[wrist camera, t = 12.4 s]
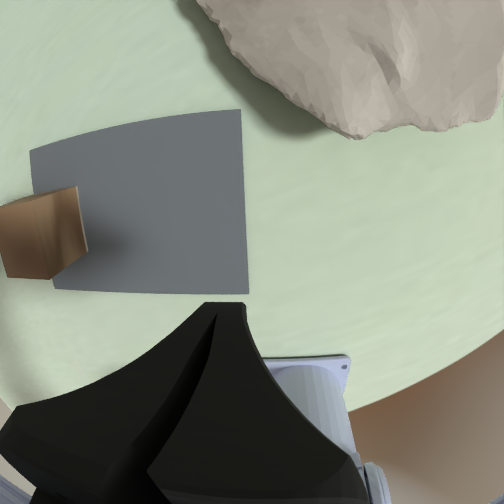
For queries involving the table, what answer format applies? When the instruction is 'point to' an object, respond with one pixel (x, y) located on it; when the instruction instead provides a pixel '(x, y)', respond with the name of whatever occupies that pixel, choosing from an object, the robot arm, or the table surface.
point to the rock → (373, 58)
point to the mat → (155, 204)
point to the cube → (42, 234)
